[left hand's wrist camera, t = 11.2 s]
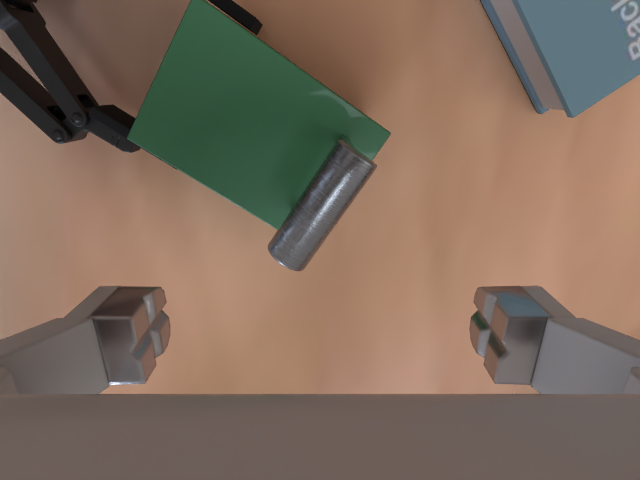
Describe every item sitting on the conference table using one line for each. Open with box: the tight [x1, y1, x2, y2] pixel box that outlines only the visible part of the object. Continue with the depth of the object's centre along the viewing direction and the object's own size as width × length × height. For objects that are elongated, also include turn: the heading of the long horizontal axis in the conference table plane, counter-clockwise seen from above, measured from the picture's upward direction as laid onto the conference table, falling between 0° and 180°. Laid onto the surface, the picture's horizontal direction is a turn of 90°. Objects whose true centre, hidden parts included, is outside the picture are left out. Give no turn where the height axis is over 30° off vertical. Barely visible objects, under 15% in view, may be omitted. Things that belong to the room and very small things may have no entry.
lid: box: [127, 0, 391, 271], centre depth 21 cm, size 14×10×9 cm
